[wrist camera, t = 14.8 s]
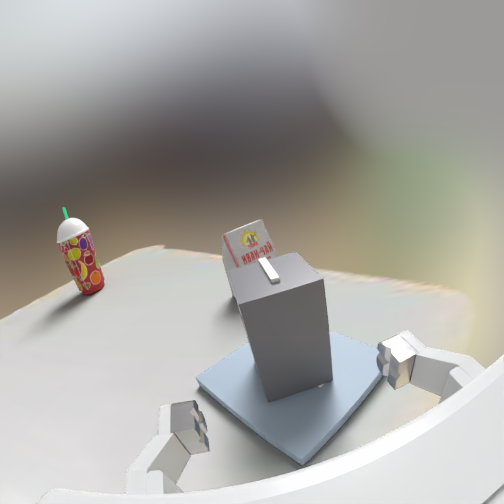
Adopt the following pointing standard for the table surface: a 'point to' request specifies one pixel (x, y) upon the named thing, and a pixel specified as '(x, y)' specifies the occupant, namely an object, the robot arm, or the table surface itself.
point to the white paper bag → (246, 246)
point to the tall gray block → (285, 323)
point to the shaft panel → (296, 397)
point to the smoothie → (80, 254)
